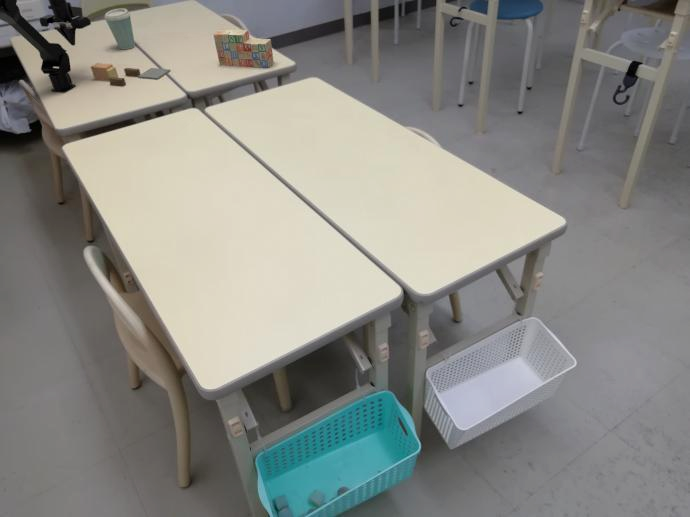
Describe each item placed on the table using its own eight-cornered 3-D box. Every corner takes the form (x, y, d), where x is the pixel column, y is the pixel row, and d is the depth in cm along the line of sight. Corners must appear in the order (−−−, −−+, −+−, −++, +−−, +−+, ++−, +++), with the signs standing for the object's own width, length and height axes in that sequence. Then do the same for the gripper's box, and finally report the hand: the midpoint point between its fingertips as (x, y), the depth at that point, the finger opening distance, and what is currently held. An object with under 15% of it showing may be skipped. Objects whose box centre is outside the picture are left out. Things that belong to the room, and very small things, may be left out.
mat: (157, 79, 205) (157, 78, 204) (138, 77, 207) (137, 76, 207) (170, 71, 211) (170, 69, 211) (151, 69, 214) (151, 67, 213)
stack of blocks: (274, 62, 213) (270, 30, 206) (268, 68, 209) (263, 36, 201) (225, 59, 219) (220, 28, 211) (219, 65, 214) (212, 33, 206)
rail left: (123, 86, 201) (121, 79, 200) (110, 84, 203) (108, 78, 201) (126, 84, 202) (124, 78, 201) (113, 83, 204) (110, 76, 202)
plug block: (112, 81, 206) (107, 68, 203) (95, 79, 208) (90, 66, 205) (118, 77, 209) (114, 64, 206) (101, 75, 211) (97, 63, 208)
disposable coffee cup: (131, 51, 232) (120, 15, 222) (109, 51, 233) (97, 14, 224) (143, 43, 239) (133, 7, 230) (121, 43, 241) (111, 7, 232)
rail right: (138, 76, 208) (136, 70, 206) (125, 75, 210) (123, 69, 208) (140, 75, 209) (139, 68, 207) (128, 74, 211) (126, 67, 209)
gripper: (93, -4, 197) (107, 39, 207) (52, -6, 202) (68, 37, 212) (72, 4, 189) (88, 49, 199) (31, 2, 194) (48, 46, 204)
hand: (73, 45), depth 203 cm, fingers closed
